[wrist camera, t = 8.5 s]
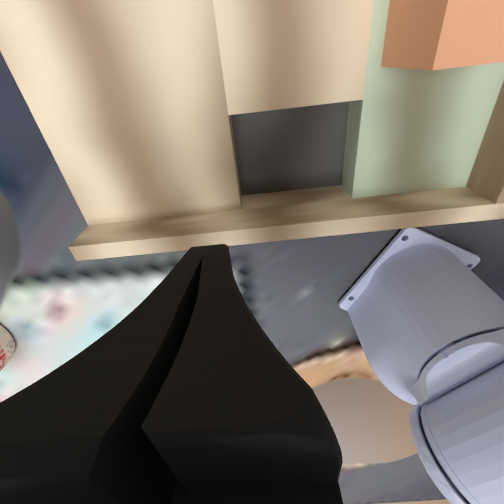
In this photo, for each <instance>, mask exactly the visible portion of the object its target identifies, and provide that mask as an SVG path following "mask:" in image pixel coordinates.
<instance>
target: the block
mask: <svg viewBox="0 0 504 504" xmlns="http://www.w3.org/2000/svg"><path fill="white" fill-rule="evenodd" d="M499 62H504V0H390V3H389V11H388V18H387V25H386V33H385V40H384V47H383V55H382V62H381V67H390V68H404V69H418V70H432V71H433V70H441V69H449V68H458V67H466V66H474V65H482V64H491V63H499Z"/></svg>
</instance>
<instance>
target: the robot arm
mask: <svg viewBox="0 0 504 504" xmlns="http://www.w3.org/2000/svg"><path fill="white" fill-rule="evenodd" d="M405 235H406V236H405ZM403 236H405V237H404V238H402V237H403ZM479 262H480V258H479V257H478V256H477V255H475V254H473V253H471V252H469V251H467V250H464V249H462V248H460V247H458V246H455V245H453V244H451V243H449V242H447V241H444V240H442V239H440V238H438V237H436V236H433V235H431V234H429V233H427V232H425V231H422V230H420V229H418V228H416V227H414V228H404V229H402V230H401V231H400V232H399V233H398V234H397V235H396V237H395V238H394V239H393V240H392V241H391V242H390V244H389V245H388V246H387V247H386V248H385V249H384V251H383V252H382V253H381V254H380V255H379V256H378V257H377V259H376V260H375V261H374V262H373V263H372V264H371V266H370V267H369V268H368V269H367V270H366V271H365V273H364V274H363V275H362V276H361V277H360V278H359V279H358V281H357V282H356V283H355V284H354V285H353V286H352V288H351V289H350V290H349V291H348V292H347V293H346V295H345V296H344V297H343V298H342V299H341V300H340V301H339V307H340V308H341V309H344V310H347V311H348V314H349V316H350V319H351V321H352V323H353V326H354V328H355V331H356V333H357V336H358V338H359V340H360V343H361V345H362V348H363V350H364V353H365V355H366V357H367V360H368V362H369V364H370V366H371V368H372V370H373V371H374V373H375V374H376V376H377V377H378V378H379V379H380V381H381V382H382V383H383V384H384V385H385V386H386V387H387V388H388V389H389V390H390V391H391V392H392V393H393V394H395V395H396V396H397V397H399V398H401V399H402V400H404V401H406V402H408V403H410V404H414V405H415V406H413V408H412V410H411V413H410V425H411V431H412V437H413V441H414V444H415V447H416V450H417V452H418V455H419V457H420V459H421V461H422V463H423V465H424V467H425V469H426V471H427V472H428V474H429V476H430V477H431V479H432V480H433V482H434V483H435V485H436V486H437V487H438V489H439V490H440V491H441V493H442V494H443V495H444V496H445V497H446V499H447V500H448V501H449V502H450V503H451V504H504V301H503V300H502V299H501V298H500V297H499V296H498V295H497V294H496V293H495V292H494V291H492V290H491V289H490V288H489V287H488V286H487V285H486V284H485V283H484V282H483V281H482V280H481V279H480V278H479V277H477V276H476V275H475V274H474V273H473V272H472V271H471V269H472V268H474V267H475V266H476V265H477V264H478V263H479ZM351 296H352V297H351ZM349 297H350V298H349ZM341 466H342V453H341V449H340V446H339V443H338V441H337V438H336V435H335V433H334V431H333V428H332V426H331V424H330V422H329V420H328V418H327V416H326V414H325V412H324V410H323V408H322V406H321V404H320V403H319V401H318V399H317V397H316V395H315V393H314V391H313V390H312V388H311V387H310V386H309V385H308V384H307V383H306V382H305V381H304V380H303V379H302V378H301V377H300V375H299V374H298V373H297V372H296V371H295V370H294V369H293V368H292V366H291V365H290V364H289V363H288V362H287V361H286V359H285V358H284V357H283V356H282V355H281V353H280V352H279V351H278V350H277V349H276V347H275V346H274V345H273V343H272V342H271V340H270V339H269V338H268V336H267V335H266V334H265V332H264V331H263V330H262V328H261V327H260V325H259V324H258V322H257V321H256V319H255V318H254V316H253V314H252V313H251V311H250V309H249V308H248V306H247V304H246V302H245V300H244V298H243V297H242V295H241V292H240V290H239V288H238V286H237V284H236V281H235V279H234V276H233V271H232V265H231V260H230V254H229V248H228V246H227V245H226V244H217V245H206V246H196V247H191V248H190V249H189V250H188V251H187V253H186V254H185V255H184V256H183V257H182V258H181V260H180V261H179V262H178V263H177V265H176V266H175V267H174V268H173V269H172V271H171V272H170V273H169V274H168V275H167V276H166V277H165V279H164V280H163V281H162V282H161V283H160V284H159V285H158V286H157V287H156V288H155V289H154V290H153V291H152V292H151V294H150V295H149V296H148V297H147V298H146V299H145V300H144V301H143V302H142V303H141V304H140V305H139V306H138V307H136V308H135V309H134V310H133V311H132V312H131V313H130V314H129V315H128V316H126V317H125V318H124V319H123V320H122V321H121V322H120V323H118V324H117V325H116V326H115V327H114V328H112V329H111V330H110V331H108V332H107V333H106V334H104V335H103V336H102V337H100V338H99V339H98V340H97V341H95V342H94V343H93V344H91V345H90V346H89V347H87V348H86V349H85V350H83V351H82V352H81V353H79V354H78V355H76V356H75V357H73V358H72V359H70V360H69V361H67V362H66V363H64V364H63V365H61V366H60V367H58V368H57V369H55V370H54V371H52V372H51V373H49V374H48V375H46V376H45V377H43V378H41V379H40V380H38V381H36V382H35V383H33V384H32V385H30V386H28V387H27V388H25V389H23V390H21V391H20V392H18V393H16V394H15V395H13V396H11V397H9V398H8V399H6V400H4V401H3V402H1V403H0V504H343V501H342V497H341V492H340V488H339V483H338V479H339V475H340V470H341Z"/></svg>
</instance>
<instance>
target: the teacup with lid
mask: <svg viewBox="0 0 504 504" xmlns="http://www.w3.org/2000/svg"><path fill="white" fill-rule="evenodd" d="M14 351H15V343H14V340H13V338H12V336H11V335H10V333H9V332H8V331H7V330H6V329H5V328H4V327H2V326H1V325H0V371H1V370H2V368H3V367H4V366H5V365H6V363H7V362H8V361H9V359H10V358H11V357H12V355H13V354H14Z"/></svg>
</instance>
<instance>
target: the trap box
mask: <svg viewBox="0 0 504 504" xmlns="http://www.w3.org/2000/svg"><path fill="white" fill-rule="evenodd" d="M389 3H390V0H0V51H1V53H2V55H3V57H4V59H5V61H6V63H7V65H8V67H9V69H10V71H11V73H12V75H13V77H14V79H15V81H16V83H17V85H18V87H19V89H20V91H21V93H22V95H23V97H24V99H25V101H26V103H27V105H28V107H29V109H30V111H31V113H32V115H33V117H34V119H35V121H36V123H37V125H38V127H39V128H40V130H41V132H42V134H43V136H44V138H45V140H46V142H47V144H48V146H49V148H50V150H51V152H52V154H53V156H54V158H55V160H56V162H57V164H58V166H59V168H60V170H61V172H62V174H63V176H64V178H65V180H66V182H67V184H68V186H69V188H70V190H71V192H72V194H73V196H74V198H75V200H76V202H77V204H78V206H79V208H80V210H81V212H82V214H83V216H84V218H85V220H86V222H87V224H88V226H87V228H86V229H85V230H84V231H83V232H82V233H81V234H80V235H79V236H78V237H77V238H76V240H75V241H74V242H73V243H72V244H71V245H70V246H69V249H70V250H71V252H72V254H73V256H74V257H75V259H76V261H80V260H90V259H101V258H111V257H121V256H131V255H141V254H151V253H161V252H171V251H181V250H189V249H190V248H191V247H196V246H206V245H217V244H226V245H227V246H232V245H242V244H252V243H262V242H272V241H282V240H292V239H303V238H313V237H323V236H333V235H343V234H353V233H363V232H373V231H383V230H393V229H404V228H414V227H424V226H434V225H444V224H454V223H464V222H474V221H484V220H494V219H504V62H499V63H491V64H482V65H474V66H466V67H458V68H449V69H441V70H433V71H432V70H418V69H404V68H390V67H381V62H382V55H383V47H384V40H385V33H386V25H387V18H388V11H389Z"/></svg>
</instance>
